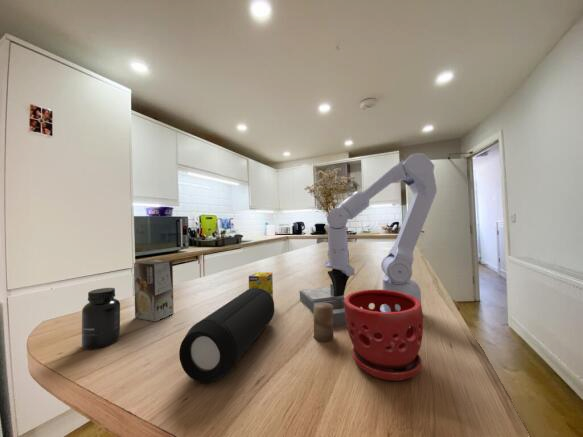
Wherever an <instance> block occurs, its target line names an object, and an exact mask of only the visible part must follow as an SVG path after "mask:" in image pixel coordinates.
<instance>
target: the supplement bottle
mask: <svg viewBox="0 0 583 437" xmlns="http://www.w3.org/2000/svg"><path fill="white" fill-rule="evenodd" d="M115 297H116V289H115V288H114V287H102V288H96V289H93V290H90V291H88V293H87V303H86V304H85V305H84V306H83V307H82V309H81V347H82V349H84V350H88V351H89V350H99V349H103V348H105V347H108V346H111V345H112V344H114V343H116V342H118V340H119V339H120V337H121V302H120V300H118V299H116V298H115Z"/></svg>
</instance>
